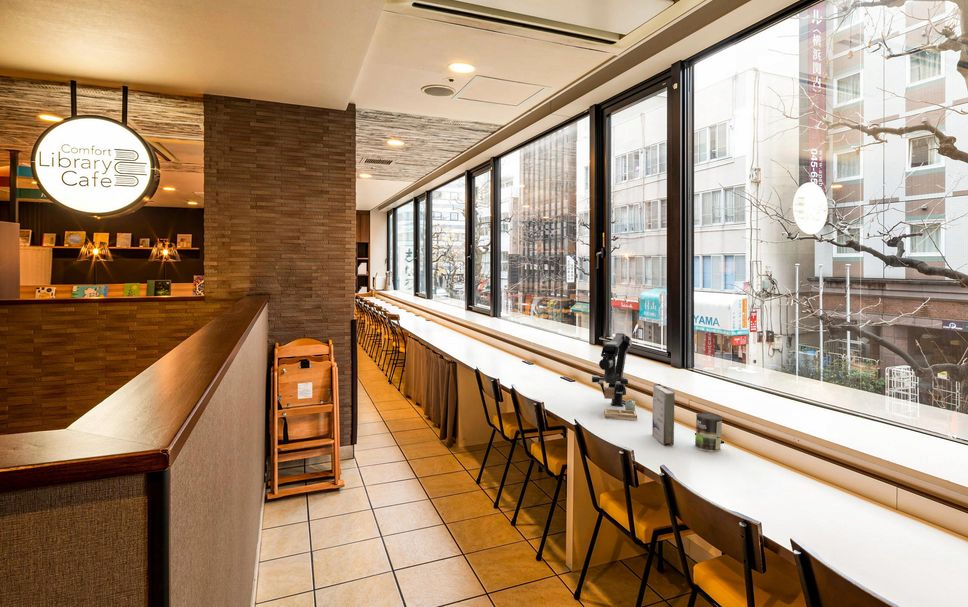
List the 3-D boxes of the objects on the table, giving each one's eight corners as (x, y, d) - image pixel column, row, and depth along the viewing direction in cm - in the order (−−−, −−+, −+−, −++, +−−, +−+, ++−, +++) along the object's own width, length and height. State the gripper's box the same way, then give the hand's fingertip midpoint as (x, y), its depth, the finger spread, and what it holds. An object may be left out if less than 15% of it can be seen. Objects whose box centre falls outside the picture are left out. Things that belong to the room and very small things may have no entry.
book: (650, 433, 237) (652, 382, 236) (662, 434, 237) (664, 383, 236) (661, 446, 221) (663, 391, 219) (674, 446, 221) (676, 391, 219)
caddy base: (604, 413, 270) (604, 408, 270) (635, 415, 267) (635, 411, 267) (604, 418, 262) (604, 413, 261) (637, 420, 258) (637, 415, 258)
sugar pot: (624, 410, 276) (625, 398, 275) (634, 411, 275) (634, 399, 274) (625, 413, 271) (625, 400, 271) (635, 414, 270) (635, 401, 270)
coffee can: (705, 452, 213) (706, 419, 212) (689, 444, 223) (691, 413, 223) (726, 451, 216) (727, 418, 215) (710, 443, 226) (711, 411, 225)
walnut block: (604, 396, 277) (604, 387, 277) (613, 396, 276) (614, 387, 276) (604, 398, 273) (604, 389, 272) (614, 399, 272) (614, 389, 271)
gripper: (592, 368, 268) (591, 398, 269) (629, 370, 264) (628, 400, 265) (592, 364, 278) (591, 393, 279) (627, 366, 275) (626, 395, 276)
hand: (609, 395), depth 274 cm, fingers closed on walnut block, 5 cm apart
